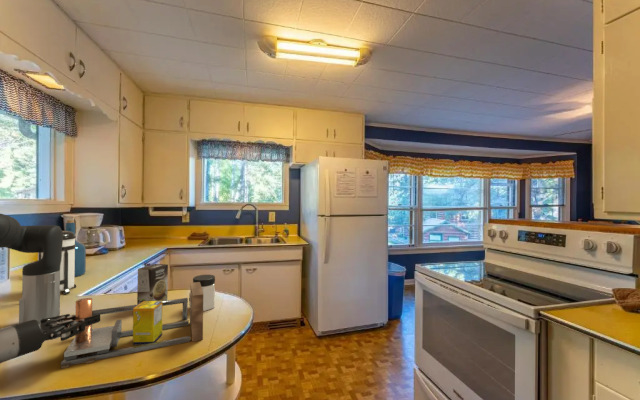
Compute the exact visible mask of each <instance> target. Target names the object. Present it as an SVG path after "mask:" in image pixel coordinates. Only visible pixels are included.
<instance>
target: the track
mask: <svg viewBox="0 0 640 400" xmlns="http://www.w3.org/2000/svg"><path fill="white" fill-rule="evenodd" d="M189 321H190V319H189V320H188V319H187V320H182V321H177V322H170V323H165V324H162V331H163V330H164V331H165V330H169V329H174V328H175V329H176V328H180V327H186V326H187V327H188V326H190V325H189V324H190V322H189ZM128 336H133V329H129V330H124V331H121V336H120V338H124V337H128ZM190 342H191V335H187V336H181V337H176V338H173V339H165V340H160V341H156V342H155V343H149V344H144V345H133V346H129V347H124V348H119V349H114V350H109V351H108V352H107V353H102V354H97V351H96V352H90V353H89V354H86V355H82V356H78V357H77V358H76V359H70V360H65V361H64V359H63V360H62V361H61V362H60V369H66V368H67V369H68V368H70V366H74V365H78V364H83V363H84V364H86V365H87V364H92V363H94V362H95V361H99V360H102V359H108V358H114V357H119V356H125V355H129V354H134V353H138V352H144V351H149V350H153V349H154V350H155V349H159V348H165V347H168V346H169V347H170V346H173V345H179V344H183V343H190Z"/></svg>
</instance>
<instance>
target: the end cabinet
mask: <svg viewBox="0 0 640 400" xmlns="http://www.w3.org/2000/svg"><path fill="white" fill-rule="evenodd" d="M189 287H190V288H189V289H190V290H189V291H190V292H189V297H188V302H189V316H190V317H189V321H190V322H189V324H190V325H189V326H190V337H191V341H192V342H197V341H202V340H203V338H204V337H203V336H204V311H203V291H202V288H201V284H200V282H194V283H193V282H190V285H189Z"/></svg>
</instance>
